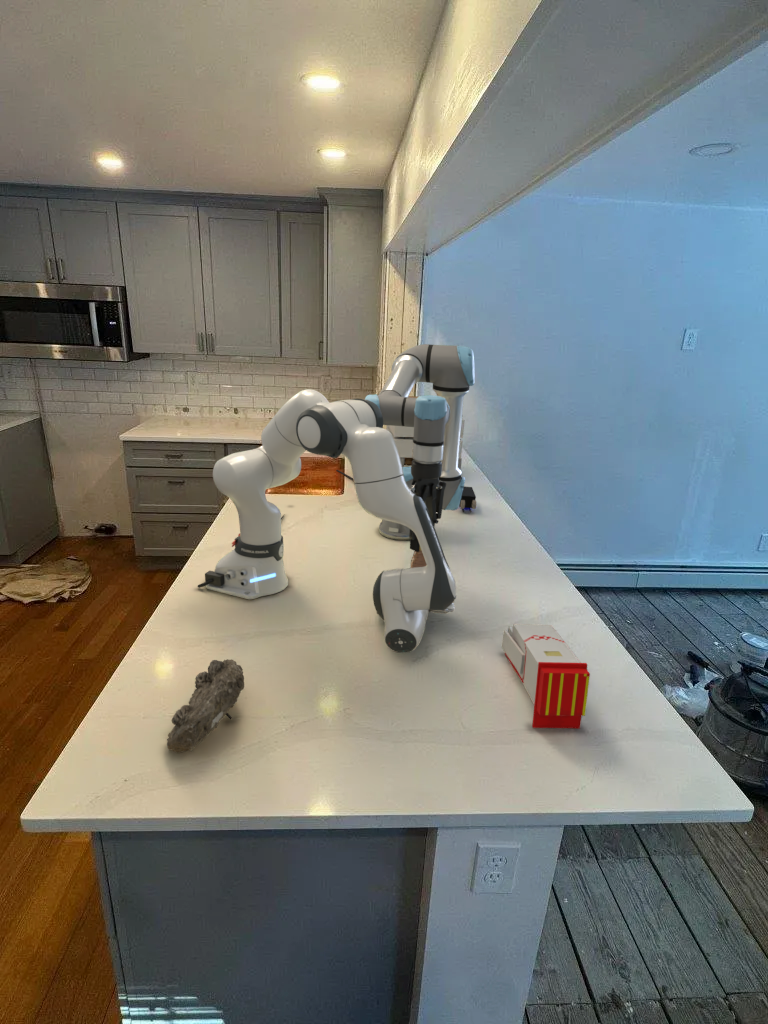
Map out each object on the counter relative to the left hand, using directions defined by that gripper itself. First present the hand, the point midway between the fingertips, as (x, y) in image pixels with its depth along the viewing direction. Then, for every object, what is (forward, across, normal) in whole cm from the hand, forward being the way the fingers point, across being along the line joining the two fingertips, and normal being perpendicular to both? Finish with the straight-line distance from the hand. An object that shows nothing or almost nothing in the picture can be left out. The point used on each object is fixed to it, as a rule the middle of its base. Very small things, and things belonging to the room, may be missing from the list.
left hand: (418, 582), depth 151 cm
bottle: (-1, 0, +6) cm, 6 cm away
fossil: (-55, +32, +6) cm, 64 cm away
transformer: (+128, +16, +6) cm, 129 cm away
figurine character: (+82, -8, +6) cm, 83 cm away
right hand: (-1, 0, -10) cm, 11 cm away
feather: (+50, +57, +6) cm, 76 cm away
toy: (-29, -30, +6) cm, 42 cm away
